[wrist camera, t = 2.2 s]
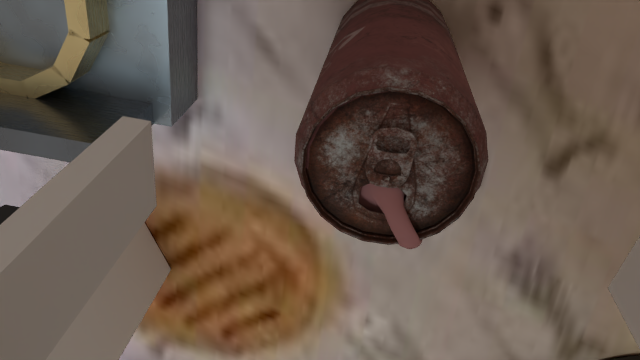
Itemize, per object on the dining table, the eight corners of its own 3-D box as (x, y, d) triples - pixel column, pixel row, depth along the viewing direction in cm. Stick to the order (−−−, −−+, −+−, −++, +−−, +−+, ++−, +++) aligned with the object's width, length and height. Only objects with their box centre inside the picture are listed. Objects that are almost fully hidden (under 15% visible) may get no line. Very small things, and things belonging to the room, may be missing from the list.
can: (369, 119, 29) (351, 282, 17) (315, 23, 27) (251, 135, 15) (468, 73, 27) (526, 223, 15) (419, -37, 24) (442, 39, 12)
